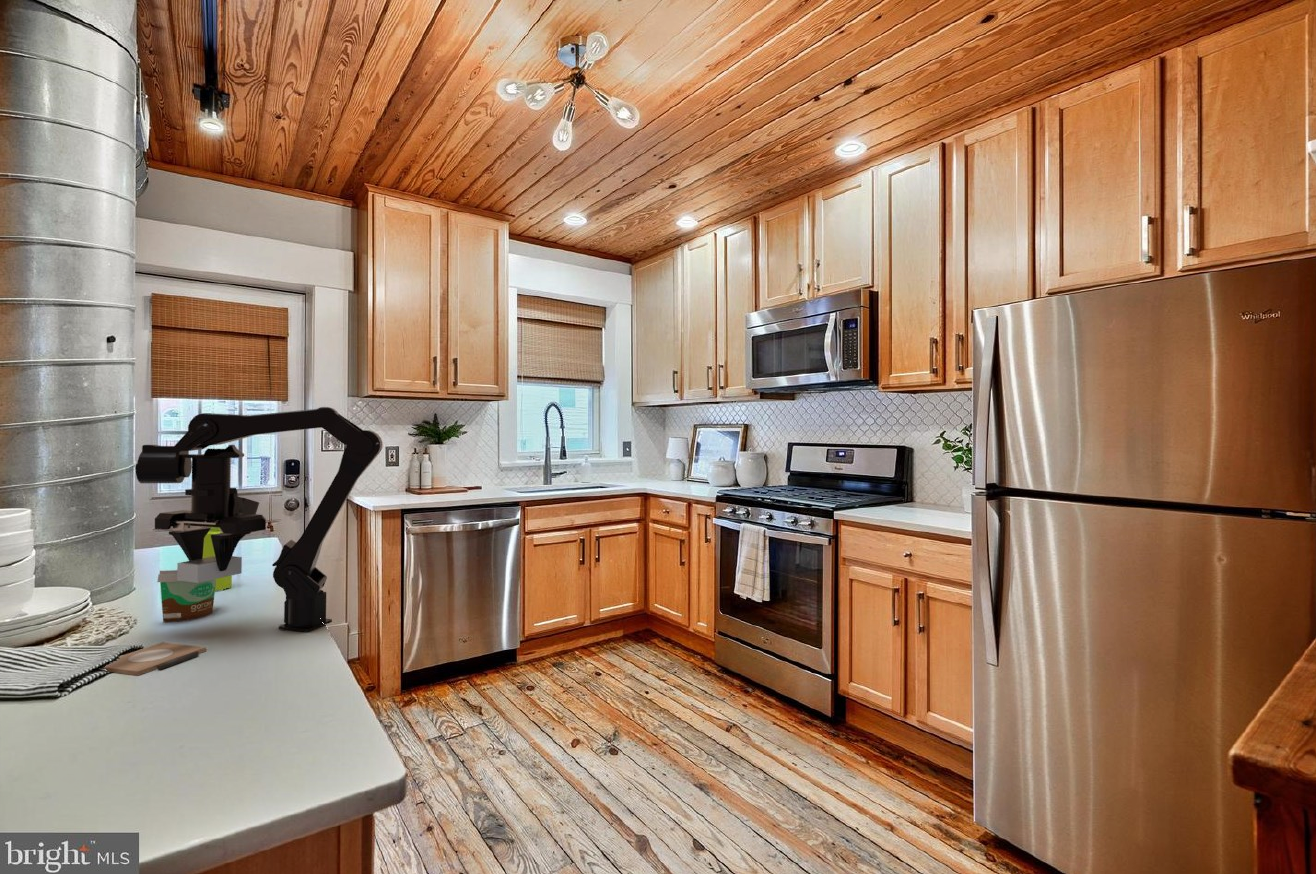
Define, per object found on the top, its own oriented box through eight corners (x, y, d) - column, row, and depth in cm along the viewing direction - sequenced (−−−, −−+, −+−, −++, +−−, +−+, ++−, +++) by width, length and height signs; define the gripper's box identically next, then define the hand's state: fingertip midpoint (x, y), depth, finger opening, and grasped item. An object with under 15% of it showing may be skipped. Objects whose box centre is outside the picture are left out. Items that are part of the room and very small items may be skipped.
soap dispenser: (189, 590, 142) (190, 502, 142) (222, 584, 148) (223, 499, 148) (204, 594, 139) (205, 504, 139) (236, 587, 146) (238, 501, 145)
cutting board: (212, 651, 104) (212, 646, 104) (144, 676, 94) (144, 671, 94) (162, 645, 107) (162, 641, 107) (91, 669, 96) (91, 664, 96)
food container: (189, 625, 118) (189, 572, 118) (156, 624, 118) (157, 571, 118) (234, 607, 130) (235, 558, 130) (205, 606, 130) (206, 558, 130)
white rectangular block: (241, 573, 116) (241, 556, 116) (197, 582, 109) (197, 565, 109) (221, 570, 118) (222, 554, 118) (177, 580, 110) (177, 562, 110)
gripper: (290, 481, 119) (289, 564, 119) (210, 478, 123) (208, 558, 123) (239, 486, 108) (238, 577, 108) (152, 482, 112) (151, 570, 112)
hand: (210, 569), depth 113 cm, fingers closed on white rectangular block, 5 cm apart
